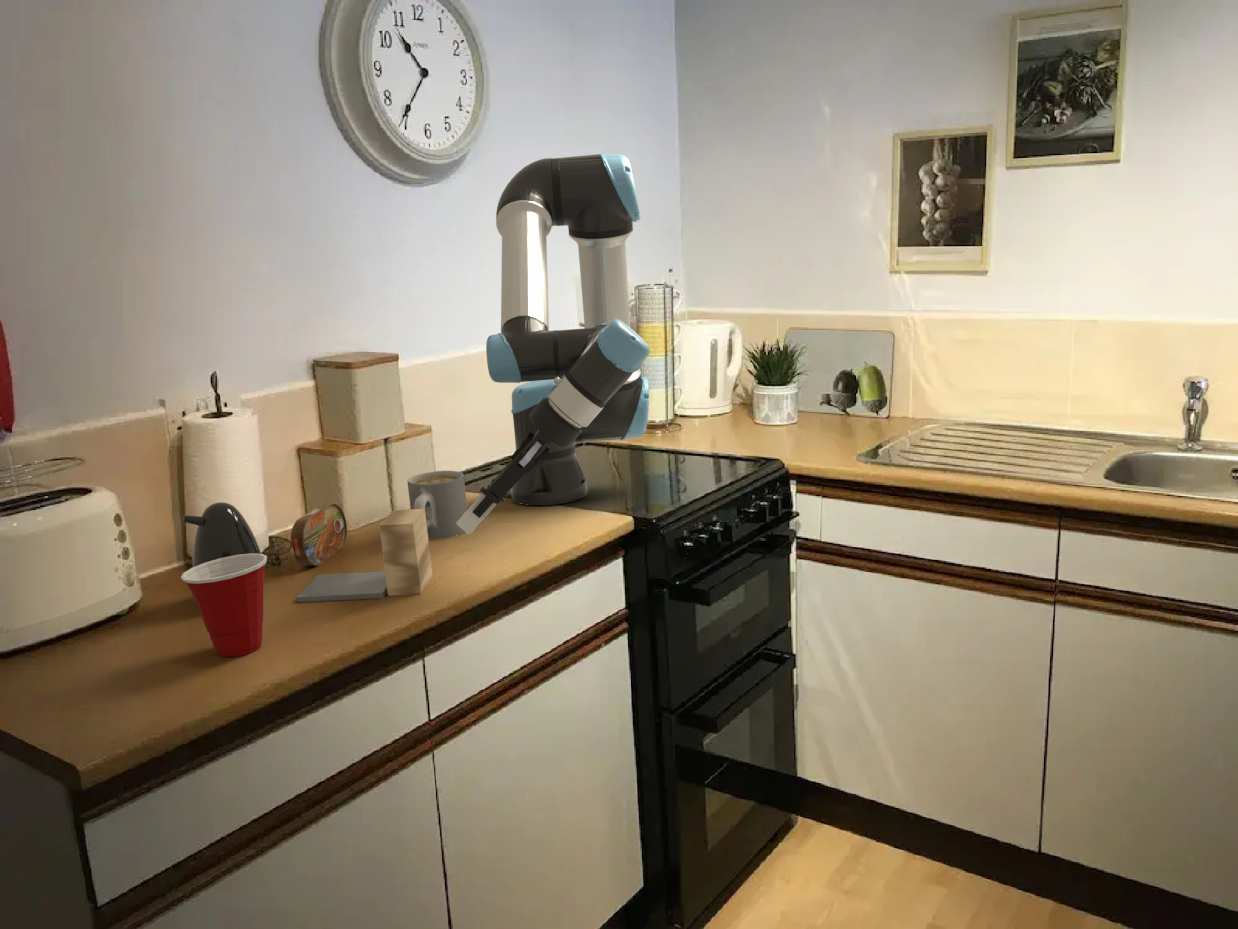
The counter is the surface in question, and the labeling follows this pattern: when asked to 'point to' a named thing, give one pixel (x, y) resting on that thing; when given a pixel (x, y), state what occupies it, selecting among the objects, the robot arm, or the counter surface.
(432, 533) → the coffee mug
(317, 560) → the tin
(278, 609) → the counter surface
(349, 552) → the counter surface
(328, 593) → the plate
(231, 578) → the plastic cup
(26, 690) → the counter surface
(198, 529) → the pump dispenser
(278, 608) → the counter surface
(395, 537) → the oak block
